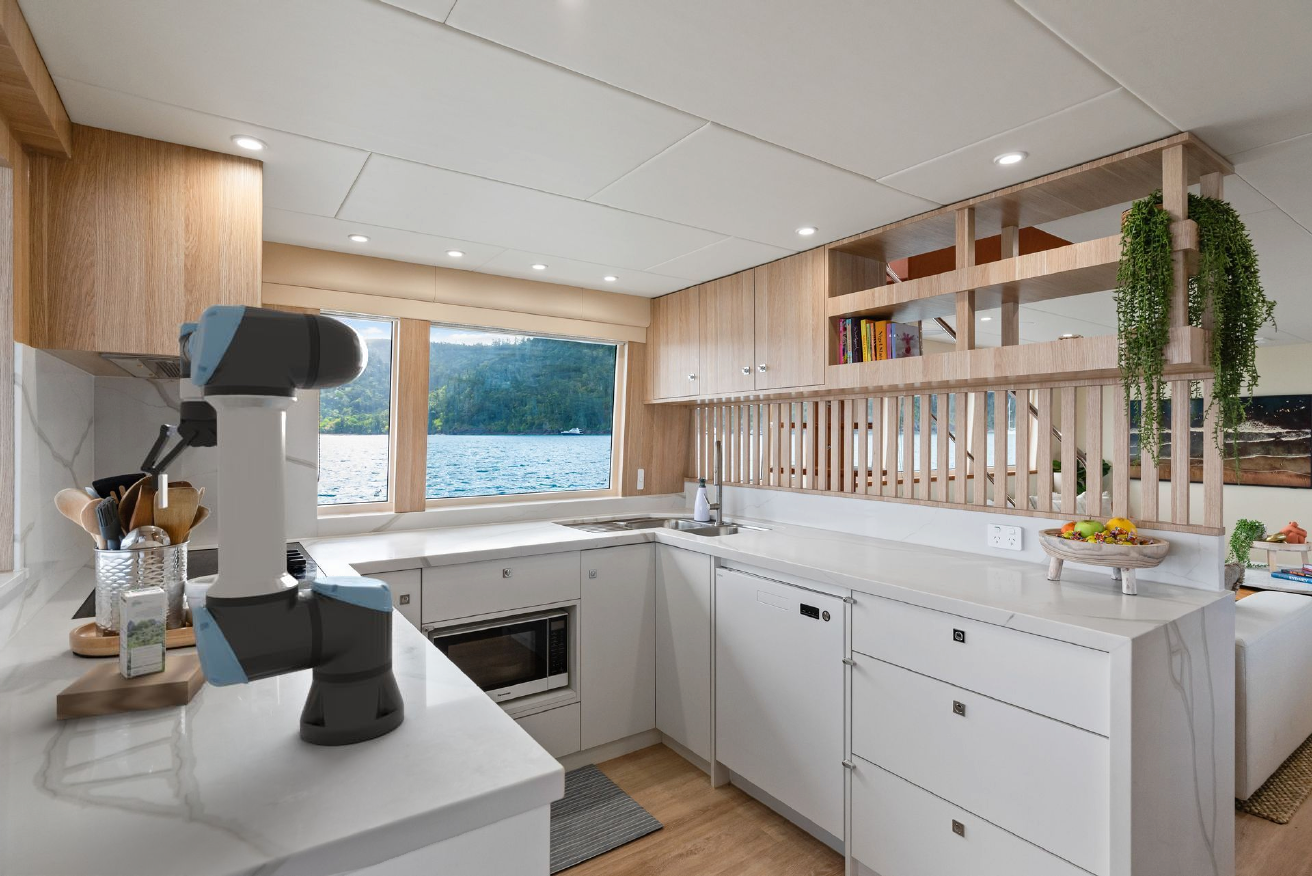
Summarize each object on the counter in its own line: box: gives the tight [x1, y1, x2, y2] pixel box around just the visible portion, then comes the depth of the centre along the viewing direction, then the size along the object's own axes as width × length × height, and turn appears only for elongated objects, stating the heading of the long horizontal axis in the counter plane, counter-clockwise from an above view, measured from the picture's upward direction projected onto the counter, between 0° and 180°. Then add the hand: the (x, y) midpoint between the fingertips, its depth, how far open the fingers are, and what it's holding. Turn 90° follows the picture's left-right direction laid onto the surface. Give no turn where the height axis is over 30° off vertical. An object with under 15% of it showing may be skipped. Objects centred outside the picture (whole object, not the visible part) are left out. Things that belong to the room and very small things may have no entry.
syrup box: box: [118, 586, 167, 679], centre depth 119 cm, size 6×6×14 cm
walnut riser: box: [56, 653, 208, 721], centre depth 119 cm, size 18×16×4 cm
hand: (203, 506), depth 135 cm, fingers open, 13 cm apart
